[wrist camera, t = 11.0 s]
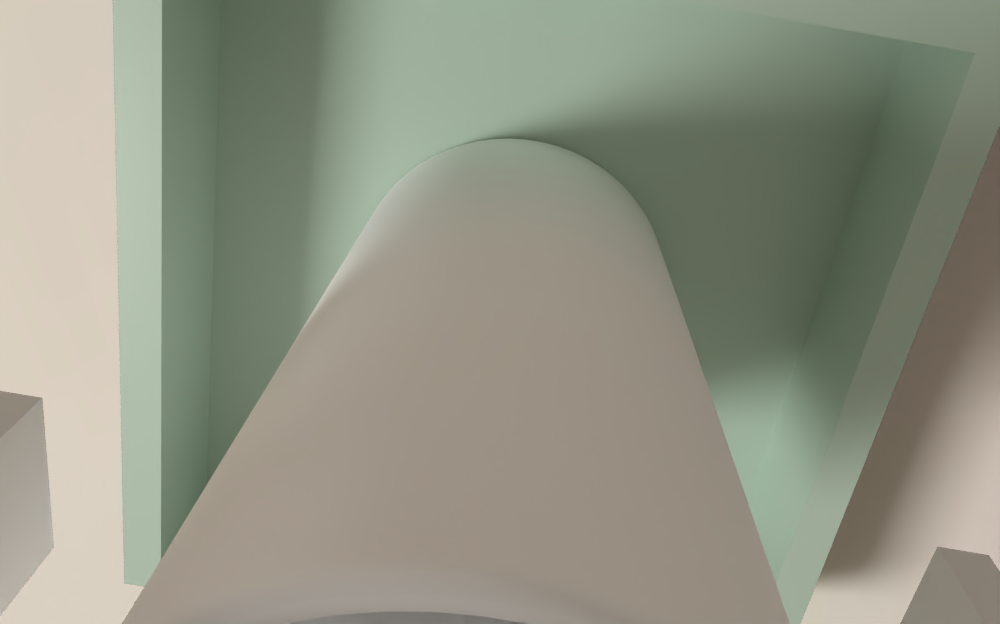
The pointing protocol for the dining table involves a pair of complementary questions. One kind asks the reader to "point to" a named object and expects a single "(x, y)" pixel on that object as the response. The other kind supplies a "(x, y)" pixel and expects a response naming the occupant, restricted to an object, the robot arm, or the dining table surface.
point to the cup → (481, 428)
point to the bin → (578, 128)
